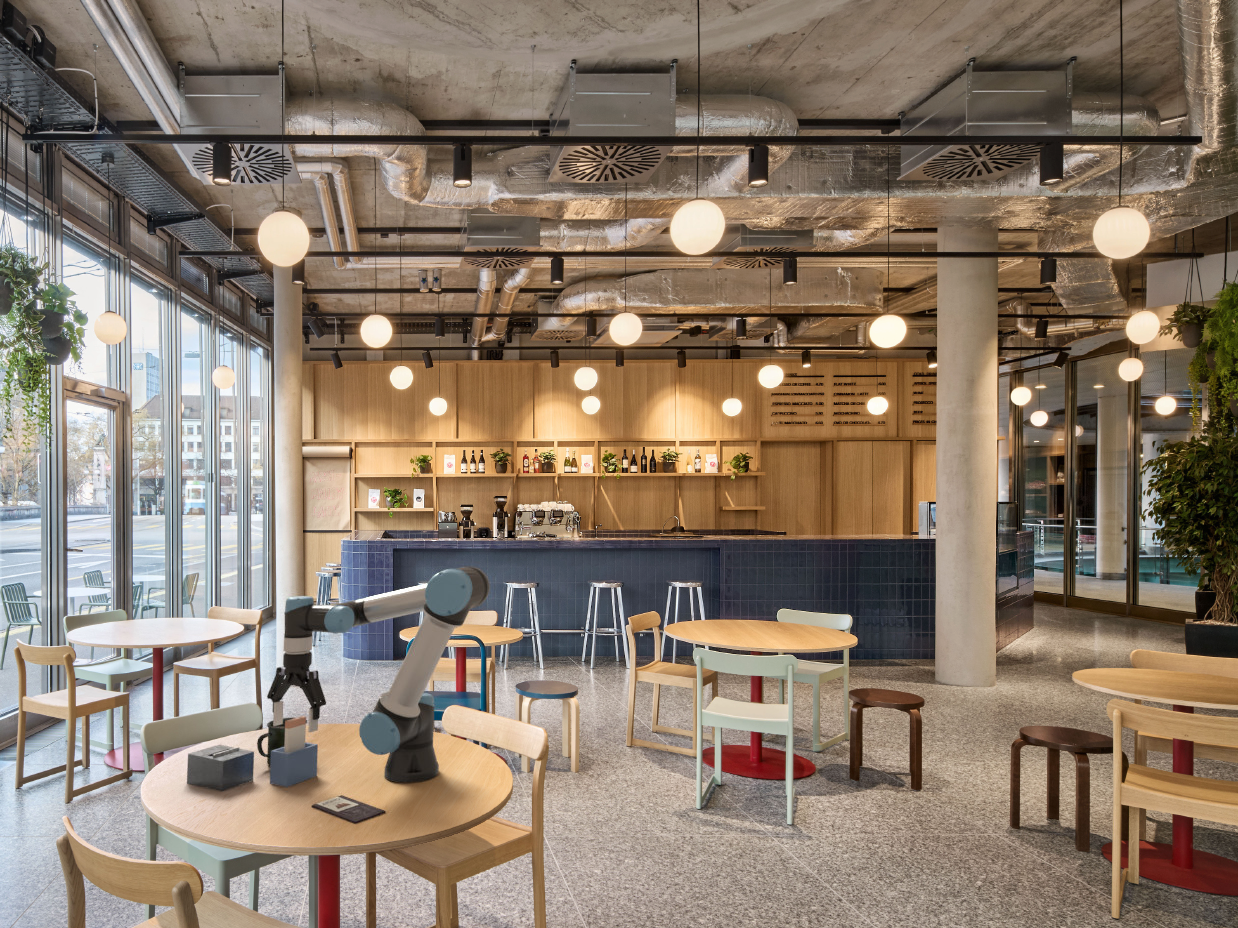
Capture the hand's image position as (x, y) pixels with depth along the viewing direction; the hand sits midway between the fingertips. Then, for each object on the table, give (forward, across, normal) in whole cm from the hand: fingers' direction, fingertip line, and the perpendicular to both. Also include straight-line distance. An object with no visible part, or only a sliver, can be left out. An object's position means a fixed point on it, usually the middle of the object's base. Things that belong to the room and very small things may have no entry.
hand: (295, 727), depth 232 cm
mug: (+14, +14, -8) cm, 22 cm away
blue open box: (+14, 0, 0) cm, 14 cm away
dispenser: (+14, +16, +11) cm, 24 cm away
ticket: (+13, 0, 0) cm, 13 cm away
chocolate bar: (+15, -30, +10) cm, 35 cm away
